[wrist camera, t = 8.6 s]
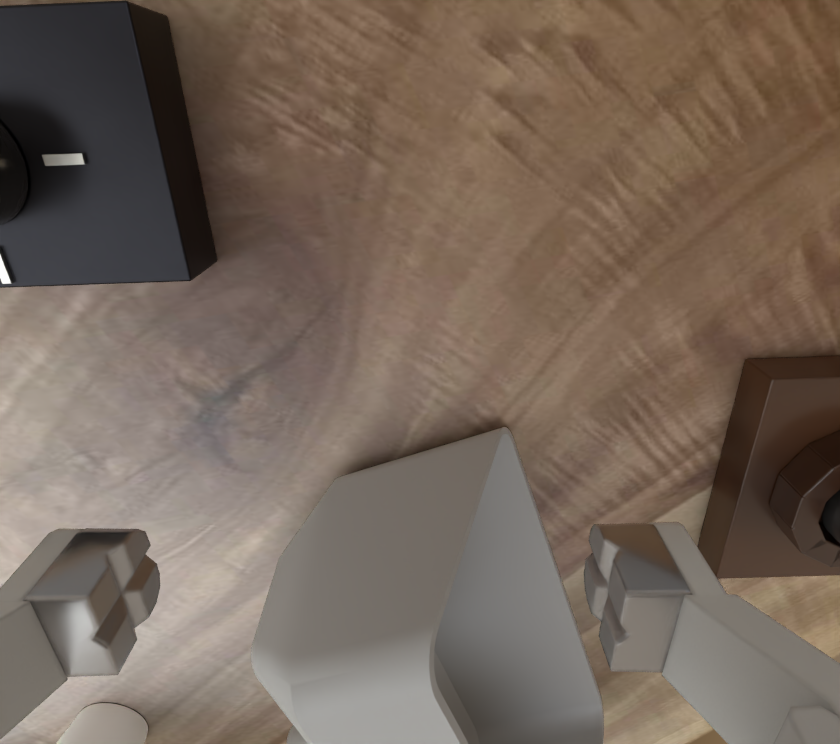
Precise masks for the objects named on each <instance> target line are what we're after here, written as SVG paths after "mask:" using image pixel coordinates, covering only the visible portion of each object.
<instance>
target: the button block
mask: <svg viewBox="0 0 840 744" xmlns="http://www.w3.org/2000/svg"><path fill="white" fill-rule="evenodd" d="M839 490H840V356H827V357H796V358H766V359H746V360H745V363H744V367H743V371H742V375H741V379H740V383H739V387H738V391H737V395H736V399H735V403H734V407H733V411H732V414H731V418H730V422H729V426H728V430H727V434H726V438H725V442H724V446H723V450H722V454H721V458H720V462H719V465H718V469H717V473H716V477H715V481H714V485H713V489H712V493H711V497H710V501H709V505H708V509H707V513H706V516H705V520H704V524H703V528H702V532H701V536H700V540H699V544H698V549H699V551H700V552H701V554H702V555H703V557H704V559H705V560H706V562H707V563H708V565H709V566H710V568H711V570H712V571H713V573H714V574H715V576H716V578H753V577H790V576H827V575H840V543H839V542H838V541H837V540H836V539H835V538H834V537H833V536H832V535H831V534H830V533H829V532H828V531H827V530H826V528H825V527H824V525H823V521H822V512H823V510H824V507H825V504H826V502H827V501H828V500H829V499H830V498H831V497H832V496H833V495H834V494H835V493H836V492H838V491H839Z"/></svg>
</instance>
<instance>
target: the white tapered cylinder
mask: <svg viewBox="0 0 840 744" xmlns="http://www.w3.org/2000/svg"><path fill="white" fill-rule="evenodd" d="M147 733H148V725H147V723H146V721H145V720H144V718H143V717H142V716H141V715H140V714H138V713H137V712H135V711H134V710H132V709H130V708H127V707H125V706H121V705H117V704H111V703H98V704H93V705H90V706H87V707H85V708H84V709H82V710H81V711H80V713H79V714H78V715H77V717H76V718H75V719H74V720H73V722H72V723H71V724H70V726H69V727H68V728H67V730H66V731H65V732H64V734H63V735H62V736H61V738H60V739H59V740H58V741H57V743H56V744H145V740H146V736H147Z"/></svg>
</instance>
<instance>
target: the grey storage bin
mask: <svg viewBox="0 0 840 744" xmlns="http://www.w3.org/2000/svg"><path fill="white" fill-rule="evenodd" d="M251 662H252V667H253V670H254V673H255V675H256V677H257V678H258V680H259V681H260V682H261V684H262V685H263V686H264V687H265V689H266V690H267V691H268V693H269V694H270V695H271V697H272V698H273V699H274V700H275V702H276V703H277V704H278V706H279V707H280V708H281V710H282V711H283V712H284V713H285V715H286V716H287V717H288V719H289V720H290V721H291V723H292V724H293V726H292V727H291V729H290V731H289V734H288V737H287V743H286V744H603V738H604V714H603V704H602V698H601V694H600V691H599V688H598V686H597V683H596V680H595V677H594V674H593V671H592V668H591V665H590V662H589V659H588V656H587V653H586V650H585V647H584V644H583V641H582V638H581V636H580V633H579V630H578V627H577V624H576V621H575V618H574V615H573V612H572V609H571V606H570V603H569V600H568V597H567V594H566V591H565V588H564V586H563V583H562V580H561V577H560V574H559V571H558V568H557V565H556V562H555V559H554V556H553V553H552V550H551V547H550V544H549V541H548V538H547V536H546V533H545V530H544V527H543V524H542V521H541V518H540V515H539V512H538V509H537V506H536V503H535V500H534V497H533V494H532V491H531V488H530V485H529V483H528V480H527V477H526V474H525V471H524V468H523V465H522V462H521V459H520V456H519V453H518V450H517V447H516V444H515V441H514V438H513V436H512V434H511V432H510V430H509V429H508V428H507V427H502V428H499V429H496V430H492V431H489V432H486V433H483V434H479V435H476V436H473V437H469V438H466V439H463V440H459V441H456V442H453V443H450V444H446V445H443V446H440V447H436V448H433V449H430V450H426V451H423V452H420V453H417V454H413V455H410V456H407V457H403V458H400V459H397V460H393V461H390V462H387V463H383V464H380V465H377V466H374V467H370V468H367V469H364V470H360V471H357V472H354V473H350V474H347V475H344V476H341V477H337V478H336V479H335V480H334V481H333V483H332V484H331V485H330V487H329V488H328V490H327V491H326V493H325V494H324V495H323V497H322V498H321V500H320V501H319V502H318V504H317V505H316V507H315V508H314V509H313V511H312V512H311V514H310V515H309V517H308V518H307V519H306V521H305V522H304V524H303V525H302V526H301V528H300V529H299V531H298V532H297V533H296V535H295V536H294V538H293V539H292V541H291V542H290V543H289V545H288V546H287V548H286V549H285V550H284V552H283V553H282V555H281V556H280V558H279V560H278V563H277V567H276V570H275V573H274V576H273V579H272V583H271V586H270V589H269V592H268V595H267V598H266V602H265V605H264V608H263V611H262V614H261V618H260V621H259V624H258V627H257V630H256V634H255V637H254V640H253V643H252V648H251Z"/></svg>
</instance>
